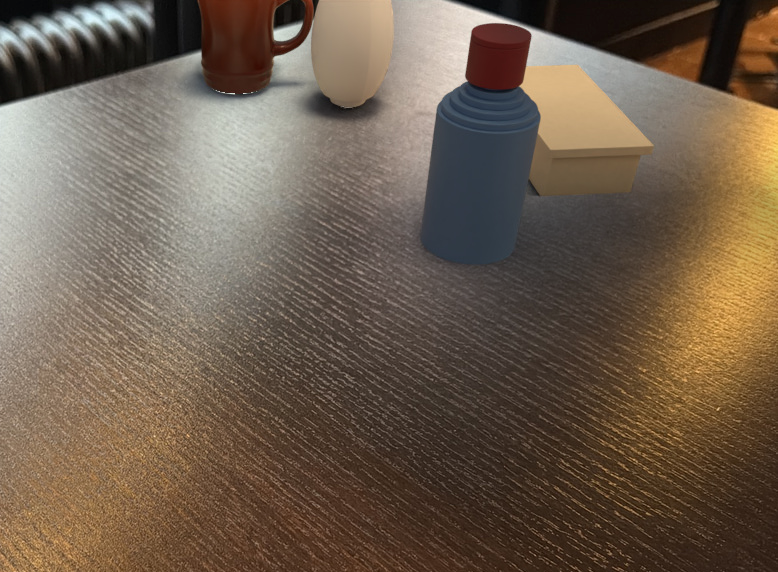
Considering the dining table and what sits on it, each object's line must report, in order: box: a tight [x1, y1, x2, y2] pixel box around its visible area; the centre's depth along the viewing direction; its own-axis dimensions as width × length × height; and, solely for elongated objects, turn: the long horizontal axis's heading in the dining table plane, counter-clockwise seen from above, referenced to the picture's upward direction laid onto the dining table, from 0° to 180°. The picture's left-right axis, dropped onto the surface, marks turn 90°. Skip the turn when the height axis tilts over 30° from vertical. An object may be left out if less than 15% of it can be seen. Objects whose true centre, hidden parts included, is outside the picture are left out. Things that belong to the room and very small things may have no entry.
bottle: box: [419, 80, 541, 266], centre depth 73 cm, size 7×7×17 cm
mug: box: [196, 0, 315, 94], centre depth 101 cm, size 12×9×10 cm
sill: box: [519, 64, 655, 197], centre depth 90 cm, size 9×18×5 cm, turn 5°
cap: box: [464, 22, 533, 90], centre depth 68 cm, size 4×4×3 cm
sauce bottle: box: [310, 0, 395, 108], centre depth 95 cm, size 8×8×18 cm
